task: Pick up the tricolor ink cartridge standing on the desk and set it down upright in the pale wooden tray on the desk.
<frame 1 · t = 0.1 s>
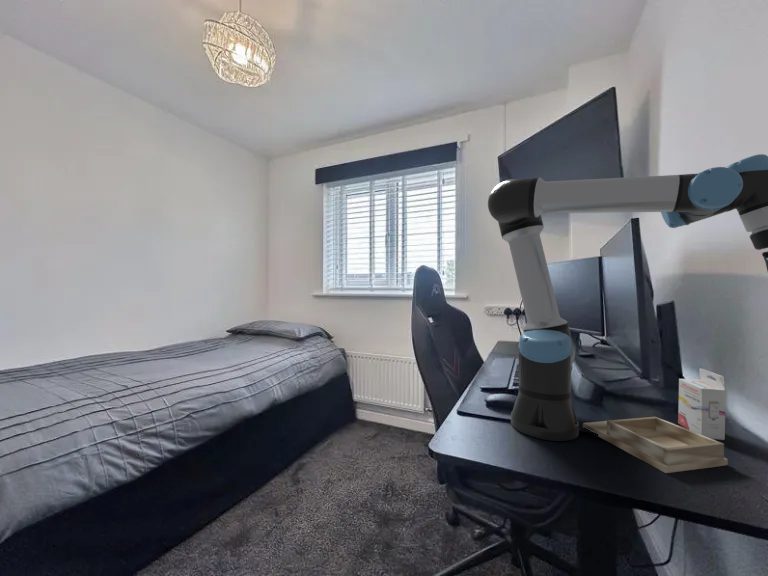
wooden tray: (660, 451, 71), on the table
ink cartridge box: (699, 432, 81), on the table
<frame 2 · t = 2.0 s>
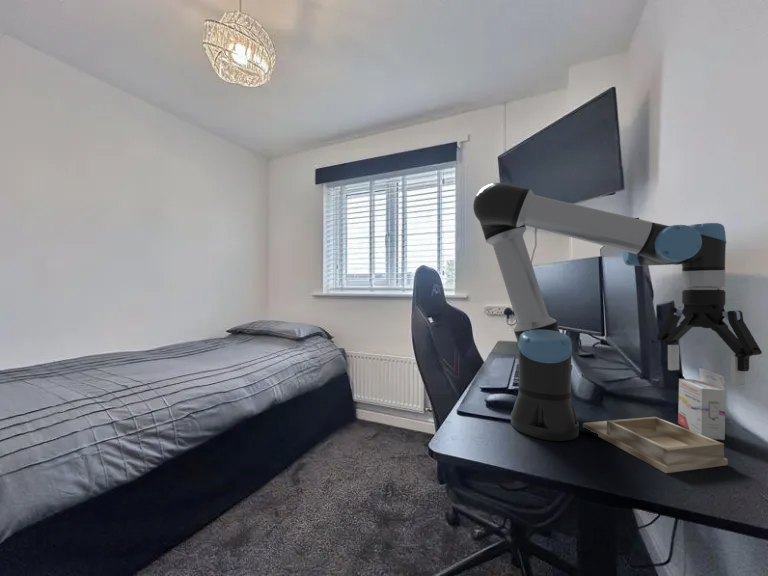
hand: (703, 376, 80), 13 cm above the table, tool pointing down, fingers open, 13 cm apart
nothing on the table moved.
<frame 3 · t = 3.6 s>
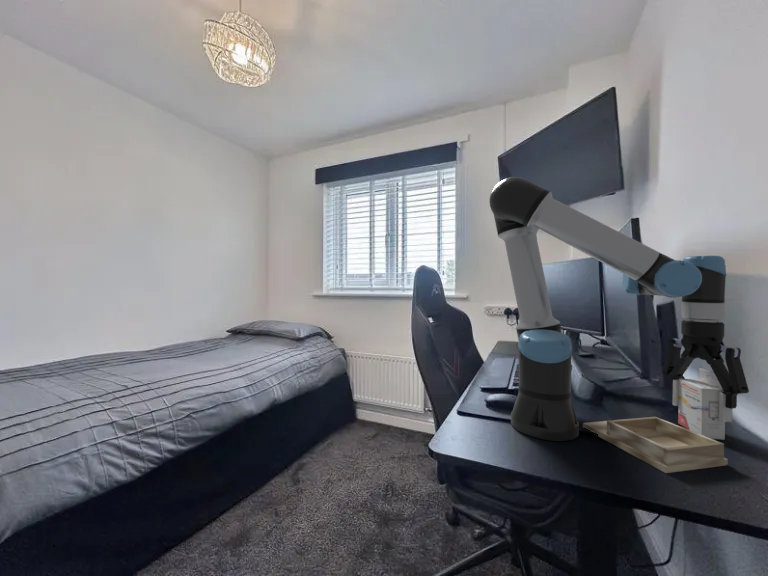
hand: (700, 412, 81), 5 cm above the table, tool pointing down, fingers closed on ink cartridge box, 9 cm apart
ink cartridge box: (699, 432, 81), on the table, touching gripper
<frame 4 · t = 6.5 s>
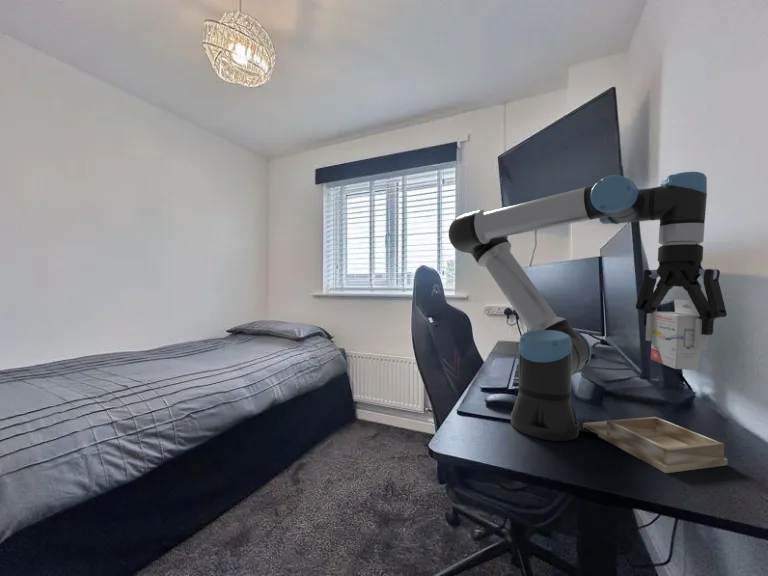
hand: (674, 344, 75), 22 cm above the table, tool pointing down, fingers closed on ink cartridge box, 9 cm apart
ink cartridge box: (673, 365, 75), point 17 cm above the table, touching gripper
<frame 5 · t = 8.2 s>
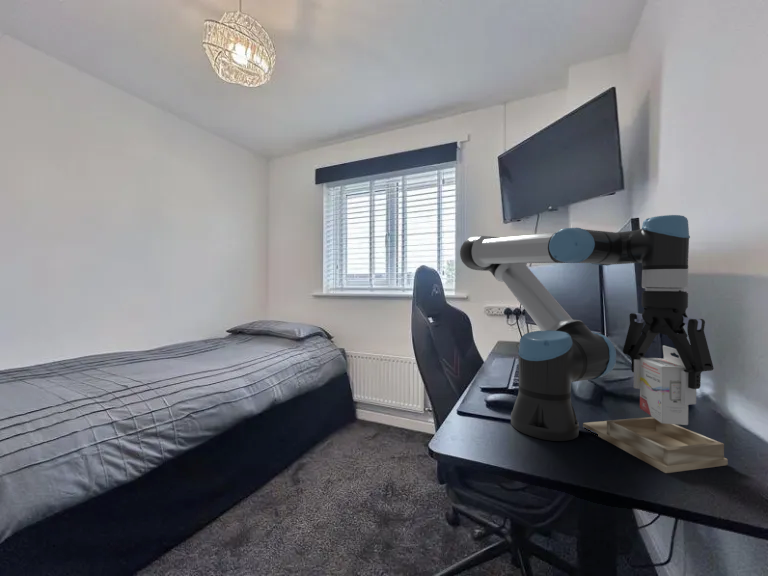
hand: (662, 395, 71), 12 cm above the table, tool pointing down, fingers closed on ink cartridge box, 9 cm apart
ink cartridge box: (662, 417, 71), point 7 cm above the table, touching gripper
when the fingers open (7 cm above the table, at t = 9.6 s): ink cartridge box drops 1 cm, resting on wooden tray.
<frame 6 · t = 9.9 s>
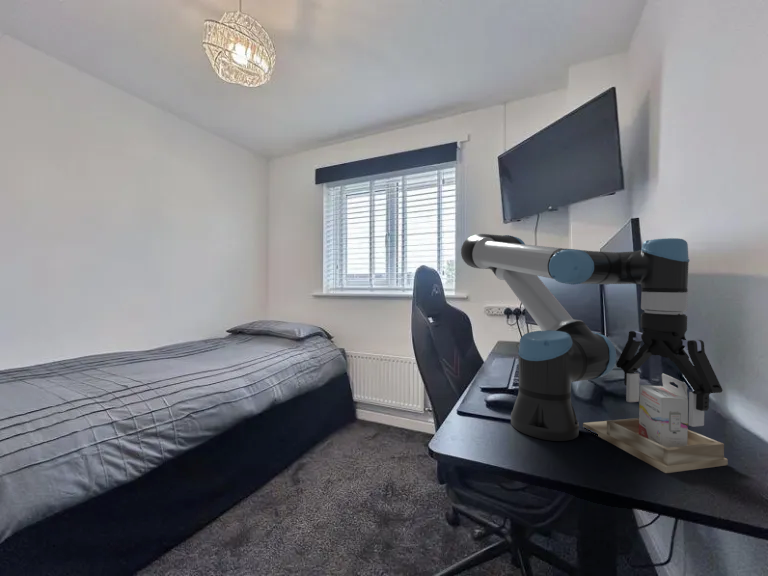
hand: (661, 412, 71), 8 cm above the table, tool pointing down, fingers open, 13 cm apart
ink cartridge box: (661, 446, 71), point 1 cm above the table, touching wooden tray
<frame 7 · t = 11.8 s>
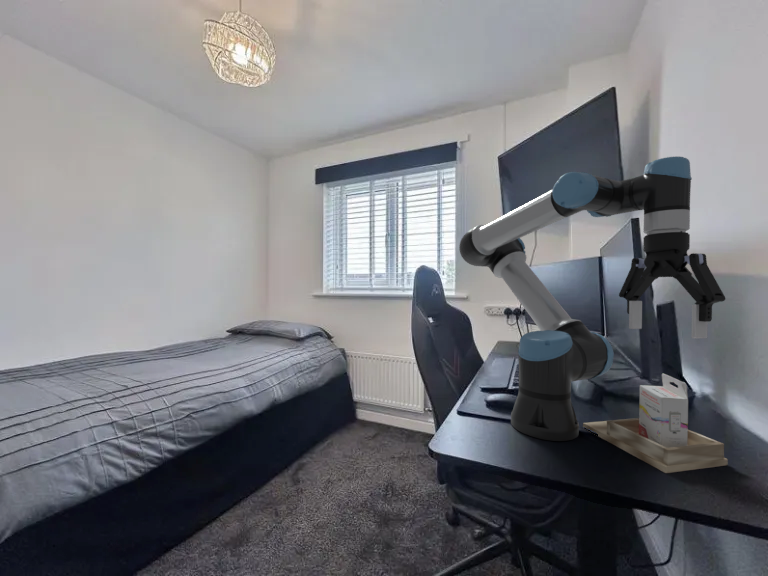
hand: (664, 333, 71), 25 cm above the table, tool pointing down, fingers open, 13 cm apart
nothing on the table moved.
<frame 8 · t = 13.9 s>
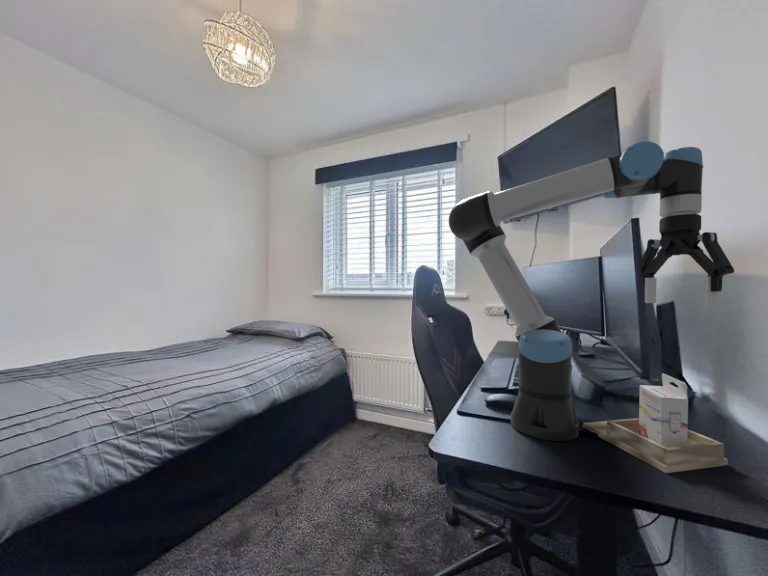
hand: (678, 304, 80), 31 cm above the table, tool pointing down, fingers open, 13 cm apart
nothing on the table moved.
at the end: ink cartridge box inside the target area on the wooden tray (0.1 cm from its centre), point 1.0 cm above the wooden tray's base; ink cartridge box tilted 0°; the gripper is holding nothing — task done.
